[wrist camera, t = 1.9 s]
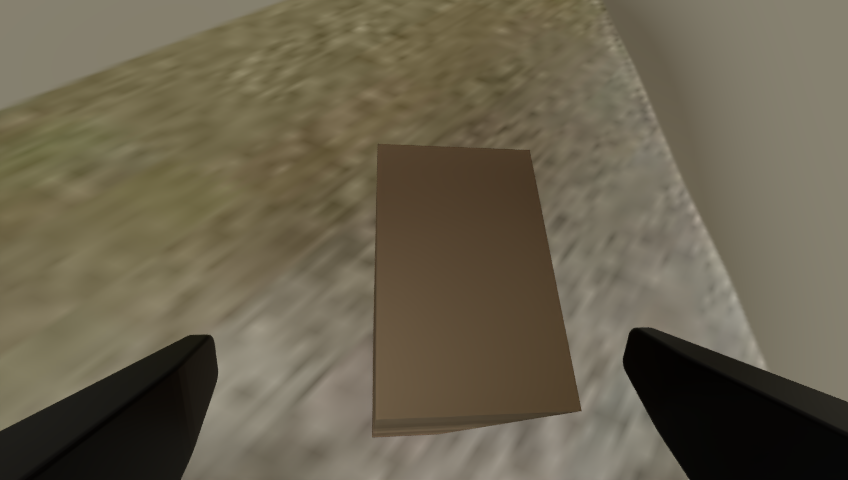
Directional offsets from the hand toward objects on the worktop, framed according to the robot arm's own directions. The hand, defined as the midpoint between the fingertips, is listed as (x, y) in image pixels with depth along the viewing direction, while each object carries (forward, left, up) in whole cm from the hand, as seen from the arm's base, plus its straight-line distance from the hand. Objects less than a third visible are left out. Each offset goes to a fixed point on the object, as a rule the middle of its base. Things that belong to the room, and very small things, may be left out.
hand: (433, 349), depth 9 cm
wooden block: (+1, 0, -8) cm, 8 cm away
